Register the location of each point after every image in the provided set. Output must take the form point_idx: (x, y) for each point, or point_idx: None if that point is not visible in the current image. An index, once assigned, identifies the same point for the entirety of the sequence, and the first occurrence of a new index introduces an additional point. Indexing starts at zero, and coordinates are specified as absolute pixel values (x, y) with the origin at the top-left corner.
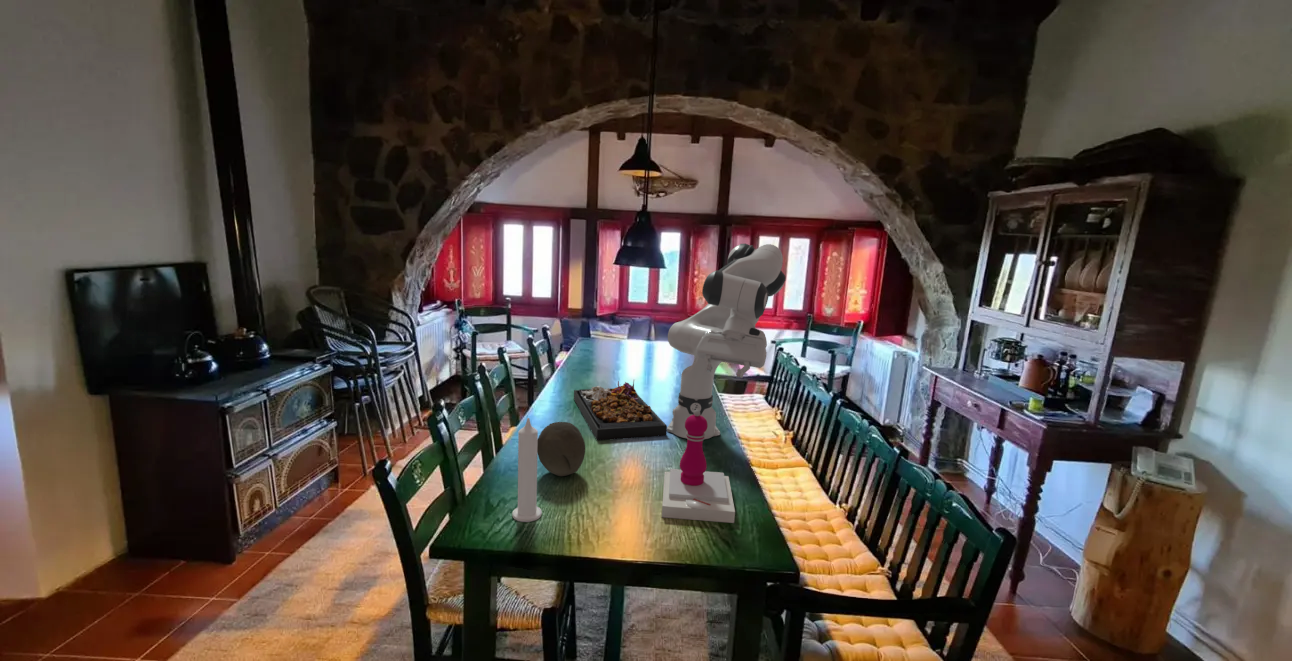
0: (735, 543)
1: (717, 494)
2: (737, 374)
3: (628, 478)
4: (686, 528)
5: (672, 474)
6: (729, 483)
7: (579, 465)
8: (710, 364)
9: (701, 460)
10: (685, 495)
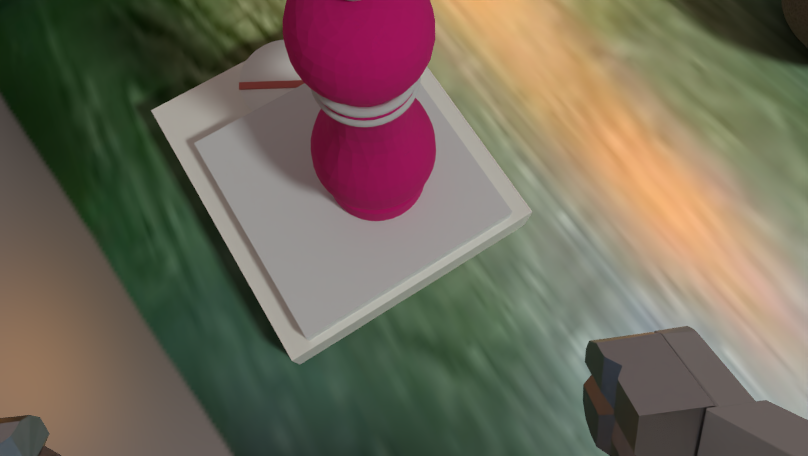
0: (121, 36)
1: (239, 142)
2: (8, 418)
3: (640, 155)
4: (280, 14)
5: (471, 171)
6: (258, 298)
7: (789, 4)
8: (656, 411)
9: (319, 116)
10: None
